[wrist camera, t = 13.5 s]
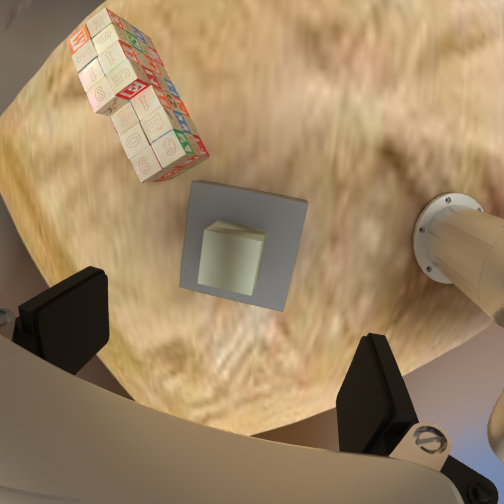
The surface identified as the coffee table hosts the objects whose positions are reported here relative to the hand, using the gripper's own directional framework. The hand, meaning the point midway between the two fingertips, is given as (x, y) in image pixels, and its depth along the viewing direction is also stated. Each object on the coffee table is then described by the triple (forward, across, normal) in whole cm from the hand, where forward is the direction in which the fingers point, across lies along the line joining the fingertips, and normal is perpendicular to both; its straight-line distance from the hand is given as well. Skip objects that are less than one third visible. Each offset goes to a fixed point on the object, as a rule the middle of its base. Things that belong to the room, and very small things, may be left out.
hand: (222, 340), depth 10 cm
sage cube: (+27, +4, +5) cm, 28 cm away
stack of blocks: (+31, +19, -12) cm, 38 cm away
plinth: (+30, +4, +5) cm, 31 cm away
